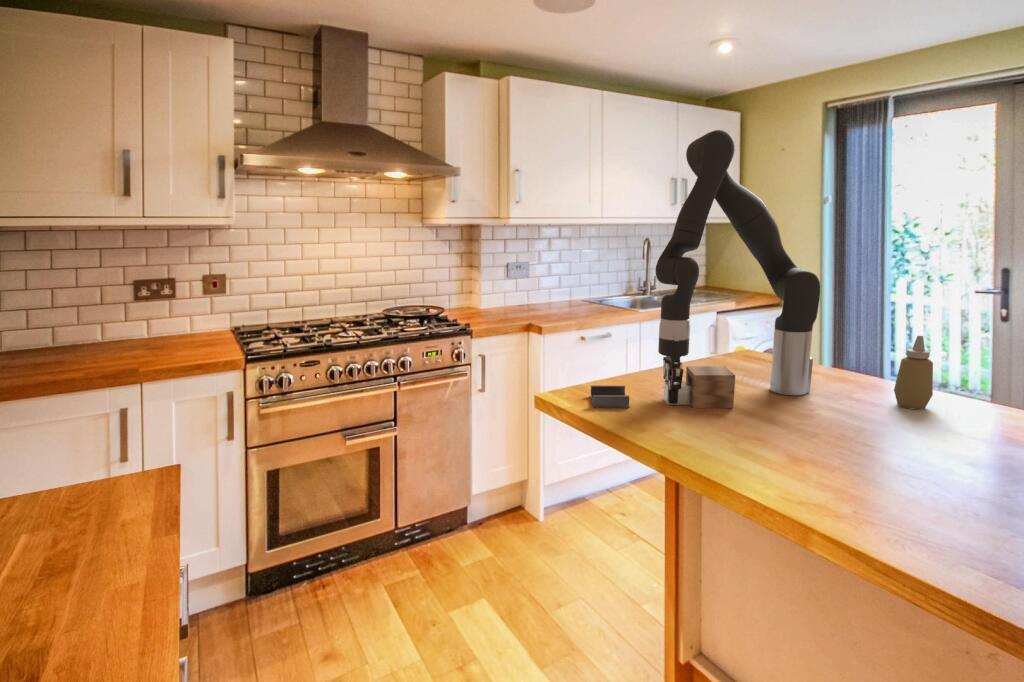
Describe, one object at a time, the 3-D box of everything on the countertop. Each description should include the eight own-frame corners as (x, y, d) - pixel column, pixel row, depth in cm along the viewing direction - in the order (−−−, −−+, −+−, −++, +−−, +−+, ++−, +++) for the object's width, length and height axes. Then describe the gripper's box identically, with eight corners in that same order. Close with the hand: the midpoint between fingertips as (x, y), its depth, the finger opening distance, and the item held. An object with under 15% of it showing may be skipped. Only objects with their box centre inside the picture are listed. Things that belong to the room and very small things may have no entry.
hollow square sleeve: (723, 397, 162) (725, 366, 160) (733, 408, 153) (735, 375, 151) (685, 397, 162) (686, 366, 160) (692, 407, 153) (694, 375, 152)
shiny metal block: (706, 399, 160) (707, 381, 159) (710, 404, 156) (711, 385, 155) (663, 400, 160) (664, 381, 159) (667, 404, 156) (667, 386, 155)
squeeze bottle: (936, 412, 147) (946, 339, 144) (900, 410, 149) (908, 338, 145) (921, 402, 155) (931, 333, 151) (887, 400, 157) (895, 332, 153)
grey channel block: (624, 396, 164) (624, 385, 163) (629, 408, 154) (629, 396, 153) (590, 396, 164) (590, 385, 164) (593, 407, 155) (593, 396, 154)
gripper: (654, 330, 162) (652, 392, 165) (664, 341, 148) (661, 409, 151) (683, 330, 161) (680, 392, 165) (695, 341, 147) (692, 409, 151)
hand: (671, 400), depth 158 cm, fingers closed on shiny metal block, 4 cm apart
